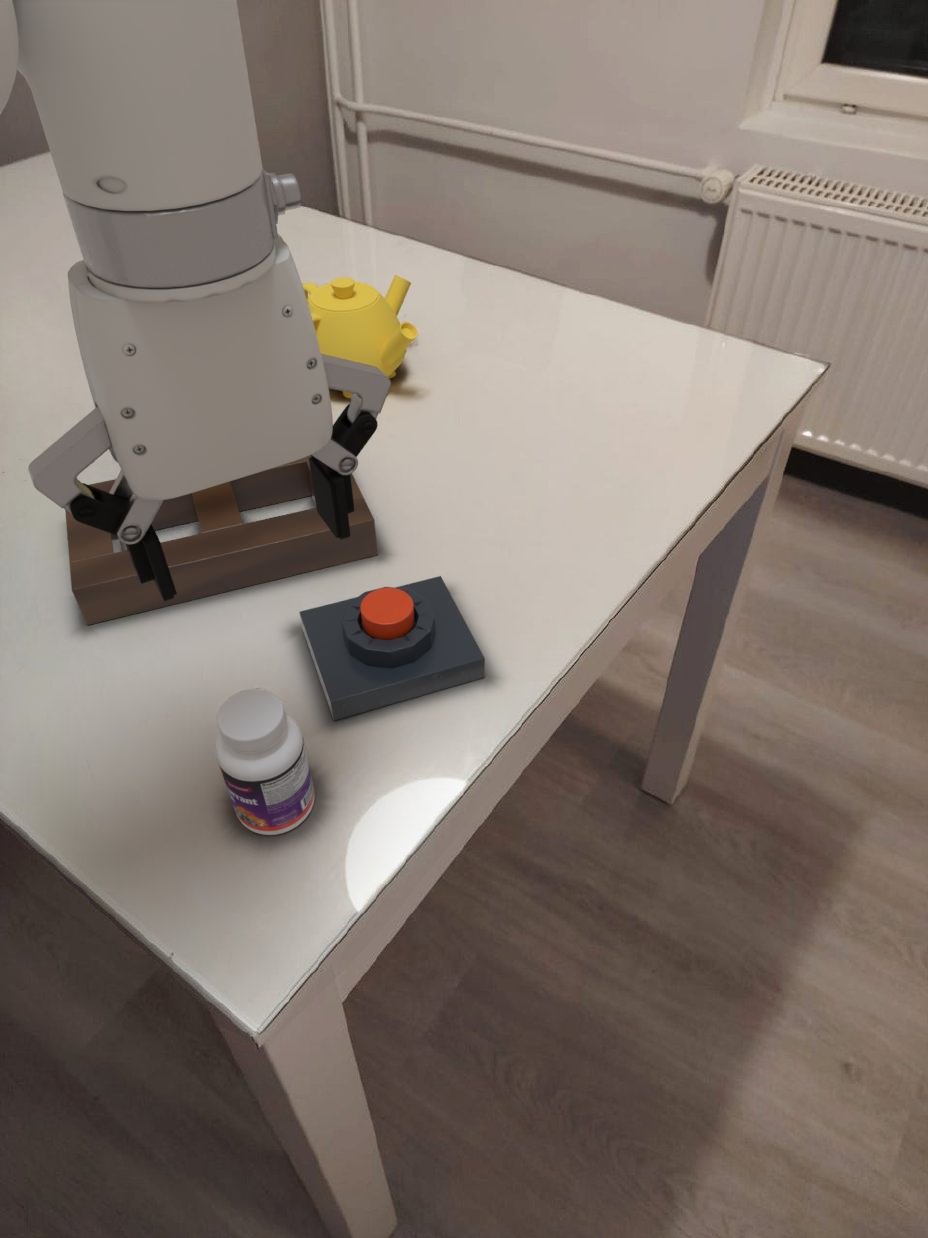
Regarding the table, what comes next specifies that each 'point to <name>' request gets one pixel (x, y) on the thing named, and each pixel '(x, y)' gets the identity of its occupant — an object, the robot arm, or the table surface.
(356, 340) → the teapot
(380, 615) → the button
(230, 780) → the pill bottle
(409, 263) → the table surface
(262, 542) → the dock
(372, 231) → the table surface
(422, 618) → the dark grey flat piece
